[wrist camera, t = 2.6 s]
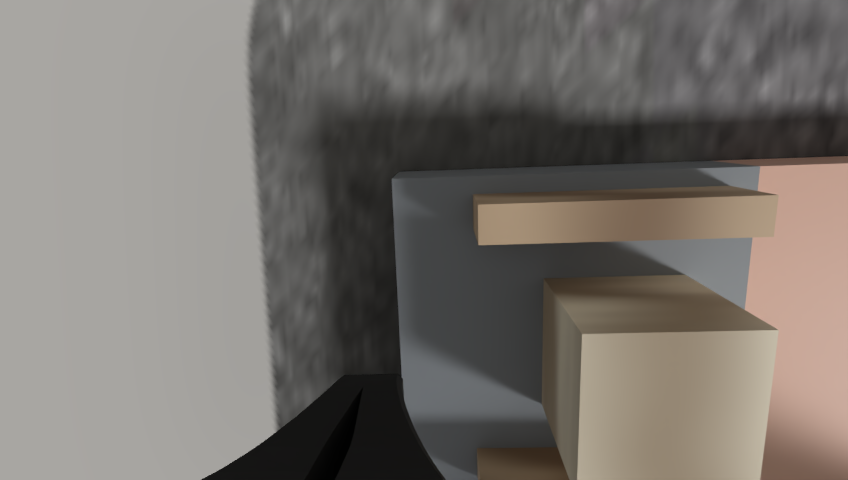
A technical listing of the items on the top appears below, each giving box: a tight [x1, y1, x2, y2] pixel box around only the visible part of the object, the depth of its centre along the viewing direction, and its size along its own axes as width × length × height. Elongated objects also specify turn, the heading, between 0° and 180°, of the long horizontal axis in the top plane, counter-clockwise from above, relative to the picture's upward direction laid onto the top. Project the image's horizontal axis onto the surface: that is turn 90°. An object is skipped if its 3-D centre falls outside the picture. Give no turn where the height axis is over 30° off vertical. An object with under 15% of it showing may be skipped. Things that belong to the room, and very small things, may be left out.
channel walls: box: [473, 186, 779, 480], centre depth 14 cm, size 7×9×2 cm
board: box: [392, 156, 848, 480], centre depth 16 cm, size 22×10×2 cm, turn 92°
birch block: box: [542, 275, 779, 480], centre depth 13 cm, size 4×4×4 cm
